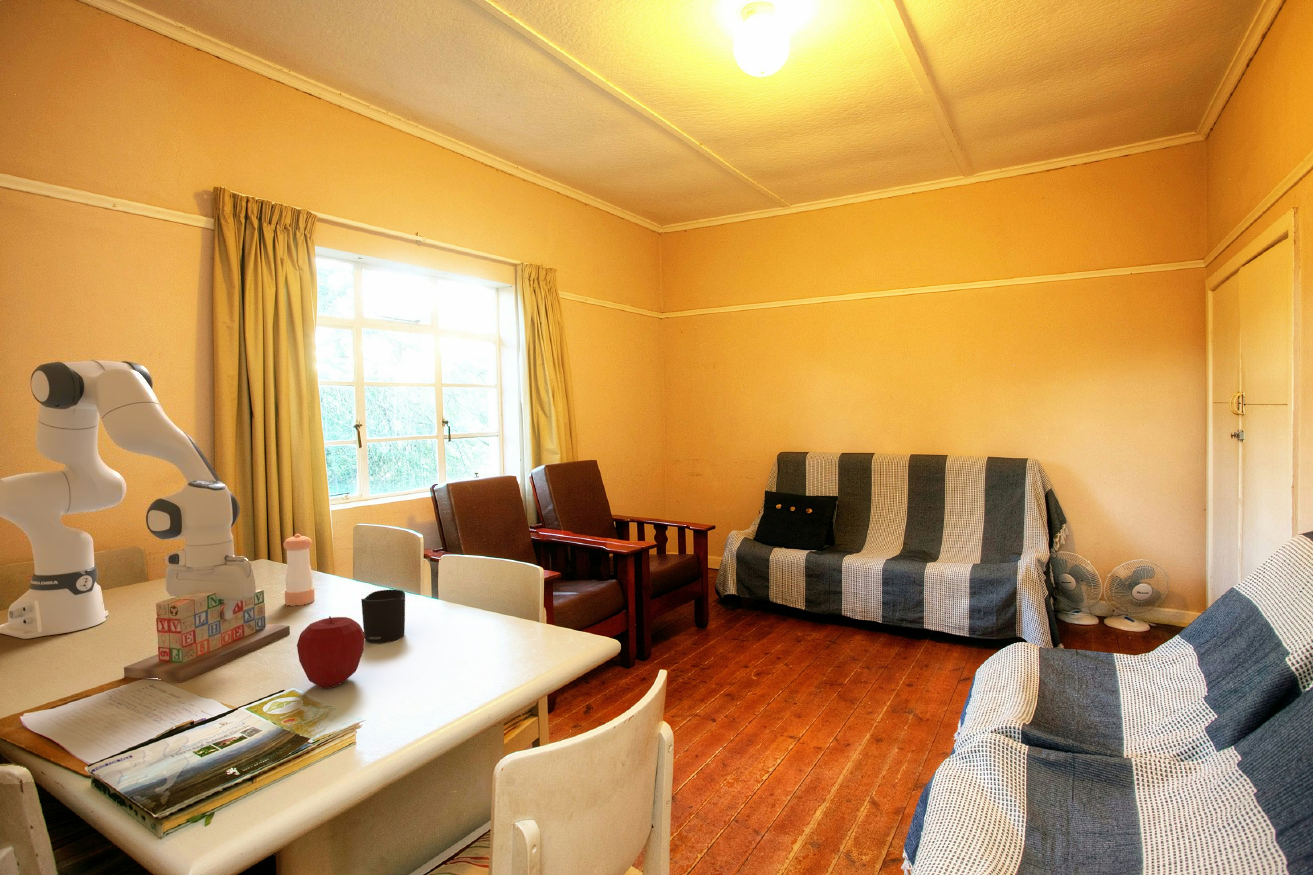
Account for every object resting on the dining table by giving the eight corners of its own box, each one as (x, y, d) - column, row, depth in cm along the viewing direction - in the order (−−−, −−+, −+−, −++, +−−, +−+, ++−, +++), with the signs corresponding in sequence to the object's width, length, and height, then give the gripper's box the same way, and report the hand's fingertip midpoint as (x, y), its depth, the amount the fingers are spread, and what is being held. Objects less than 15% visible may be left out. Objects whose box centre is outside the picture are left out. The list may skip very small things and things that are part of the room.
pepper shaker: (306, 596, 186) (304, 530, 185) (319, 601, 182) (317, 533, 181) (280, 603, 180) (277, 534, 179) (292, 607, 176) (290, 537, 175)
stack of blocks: (243, 626, 154) (241, 575, 154) (266, 628, 153) (264, 576, 153) (157, 661, 134) (154, 601, 133) (182, 663, 132) (180, 603, 132)
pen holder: (355, 637, 152) (354, 595, 151) (395, 627, 159) (393, 587, 158) (373, 647, 145) (372, 603, 145) (413, 636, 152) (412, 594, 152)
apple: (361, 691, 122) (358, 622, 122) (291, 700, 119) (289, 628, 118) (369, 667, 134) (367, 603, 133) (306, 675, 130) (304, 609, 130)
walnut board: (124, 676, 131) (123, 667, 131) (240, 630, 158) (239, 622, 158) (181, 682, 128) (181, 672, 128) (289, 633, 155) (289, 625, 155)
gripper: (262, 553, 143) (264, 615, 143) (184, 550, 147) (187, 610, 148) (238, 560, 137) (240, 624, 137) (158, 556, 141) (161, 619, 142)
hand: (212, 617), depth 143 cm, fingers closed on stack of blocks, 6 cm apart
